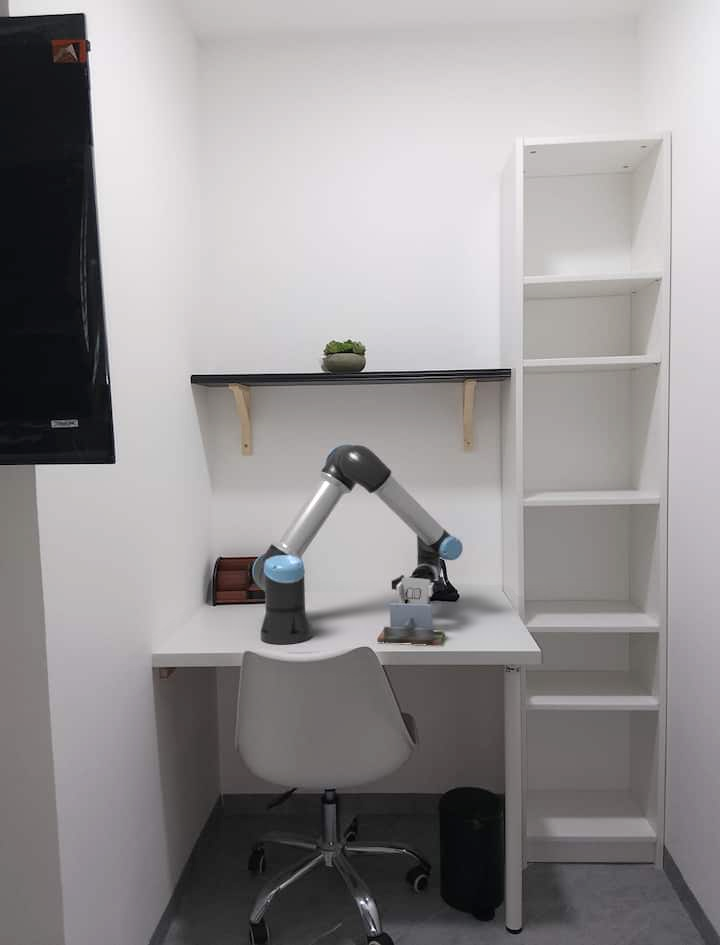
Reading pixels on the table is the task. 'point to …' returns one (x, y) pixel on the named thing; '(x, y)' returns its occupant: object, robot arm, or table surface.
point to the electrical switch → (415, 591)
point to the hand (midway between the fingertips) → (413, 591)
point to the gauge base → (411, 635)
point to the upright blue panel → (411, 616)
